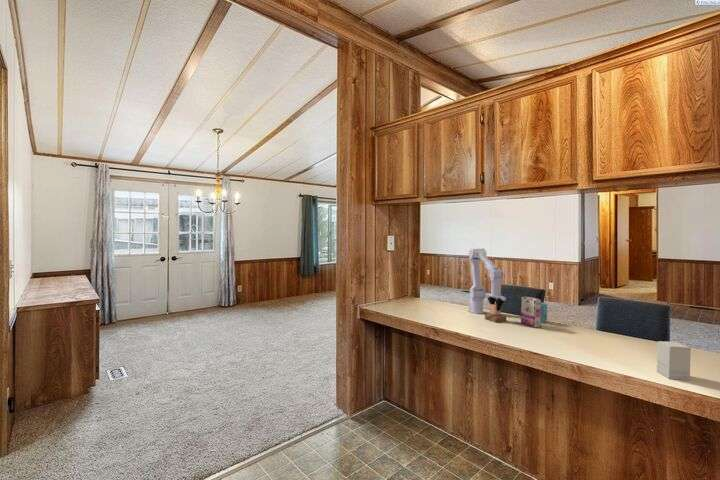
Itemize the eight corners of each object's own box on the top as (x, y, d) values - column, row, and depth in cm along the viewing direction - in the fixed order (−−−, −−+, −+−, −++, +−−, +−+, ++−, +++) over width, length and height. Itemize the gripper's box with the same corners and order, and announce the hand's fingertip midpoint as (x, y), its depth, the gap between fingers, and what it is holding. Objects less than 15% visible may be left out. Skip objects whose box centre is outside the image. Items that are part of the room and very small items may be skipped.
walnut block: (484, 319, 224) (484, 314, 224) (495, 318, 228) (495, 313, 228) (495, 323, 216) (495, 317, 216) (506, 321, 220) (506, 316, 219)
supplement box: (690, 380, 133) (691, 347, 133) (668, 379, 135) (669, 346, 134) (676, 372, 141) (677, 341, 140) (655, 371, 142) (656, 340, 142)
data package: (547, 322, 217) (547, 303, 216) (543, 323, 214) (543, 304, 214) (528, 318, 226) (528, 300, 226) (524, 319, 224) (524, 300, 223)
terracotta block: (490, 312, 223) (490, 304, 223) (495, 311, 225) (495, 303, 224) (495, 313, 219) (495, 305, 218) (500, 313, 220) (500, 305, 220)
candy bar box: (541, 327, 206) (541, 299, 205) (534, 328, 204) (534, 300, 204) (527, 322, 216) (527, 296, 216) (520, 323, 215) (520, 296, 215)
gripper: (482, 286, 226) (482, 307, 227) (499, 290, 213) (499, 312, 213) (491, 286, 229) (491, 306, 229) (508, 289, 216) (508, 311, 216)
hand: (495, 309), depth 222 cm, fingers closed on terracotta block, 4 cm apart
